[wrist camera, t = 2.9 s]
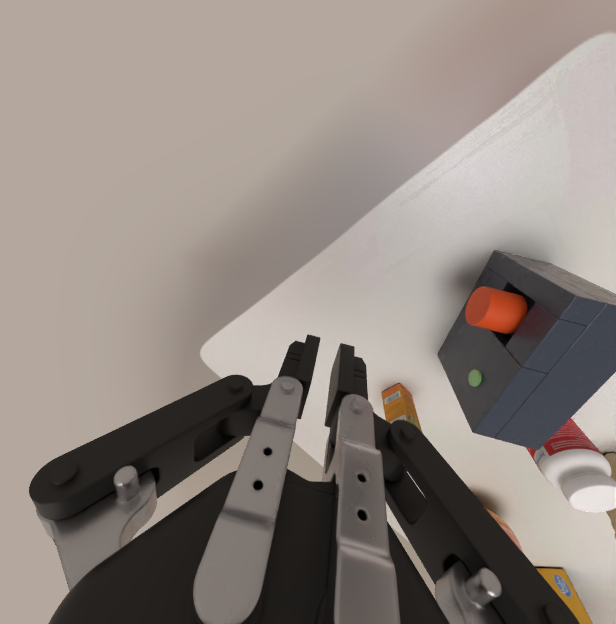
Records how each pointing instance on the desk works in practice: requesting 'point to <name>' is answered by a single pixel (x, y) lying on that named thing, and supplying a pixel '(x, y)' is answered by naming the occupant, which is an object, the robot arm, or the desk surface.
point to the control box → (532, 353)
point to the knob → (496, 310)
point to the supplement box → (399, 405)
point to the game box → (565, 592)
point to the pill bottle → (577, 469)
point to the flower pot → (612, 458)
